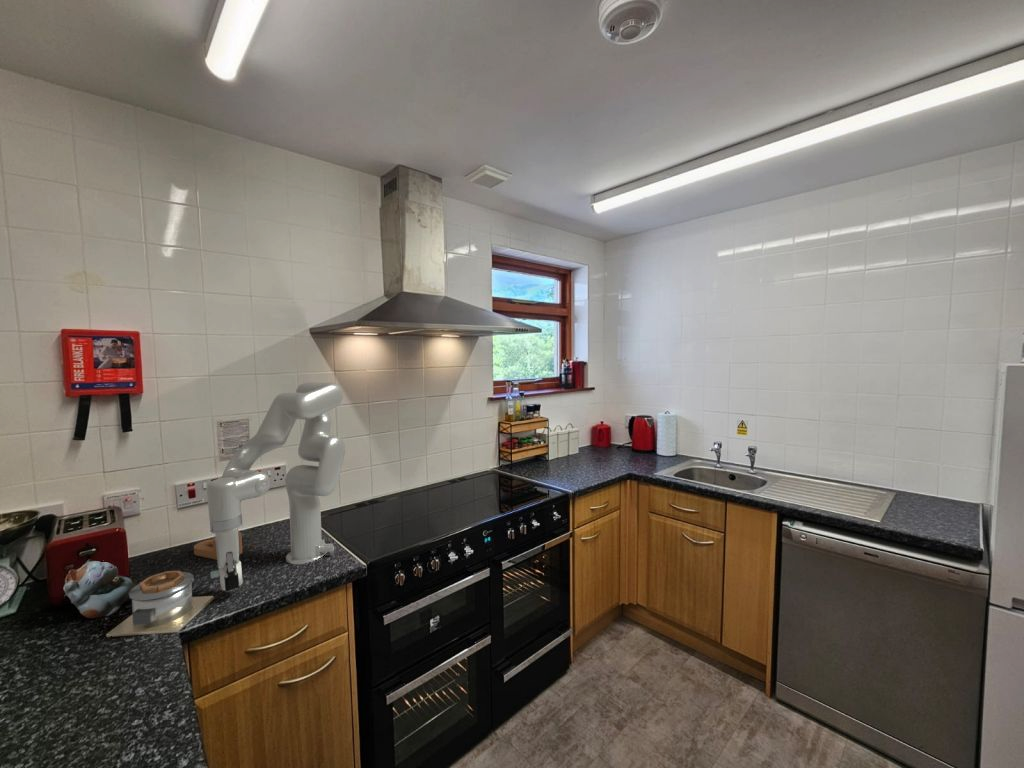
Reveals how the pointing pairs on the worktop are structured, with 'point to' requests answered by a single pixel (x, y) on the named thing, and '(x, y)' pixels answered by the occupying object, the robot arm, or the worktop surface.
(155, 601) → the cylinder on square plate
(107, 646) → the worktop surface
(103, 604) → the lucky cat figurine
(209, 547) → the brown rounded piece
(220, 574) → the drain pump
